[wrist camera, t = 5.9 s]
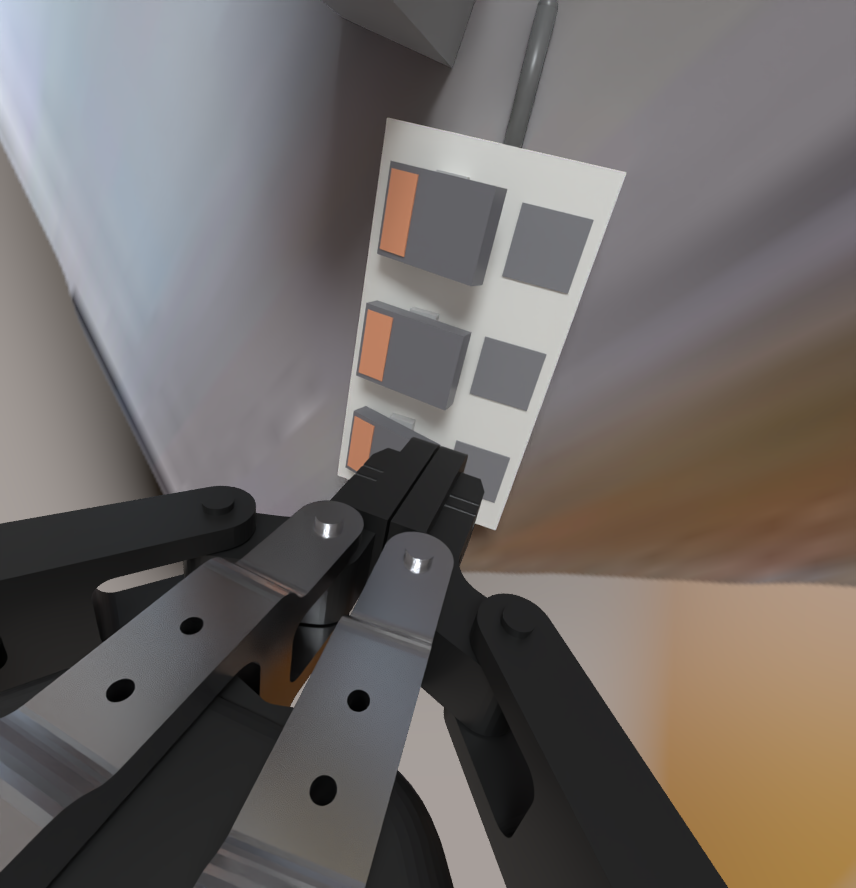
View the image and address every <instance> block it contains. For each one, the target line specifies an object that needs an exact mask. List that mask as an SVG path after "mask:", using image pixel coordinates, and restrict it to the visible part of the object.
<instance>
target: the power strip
mask: <svg viewBox="0 0 856 888" xmlns="http://www.w3.org/2000/svg"><path fill="white" fill-rule="evenodd" d="M557 10H558V3H557V0H540V1H539V3H538V6H537V10H536V14H535V18H534V22H533V26H532V30H531V34H530V38H529V42H528V46H527V50H526V54H525V58H524V62H523V66H522V70H521V75H520V79H519V83H518V87H517V91H516V95H515V99H514V103H513V107H512V111H511V115H510V119H509V123H508V127H507V131H506V135H505V140H504V144H501V143H496V142H492V141H488V140H483V139H479V138H475V137H470V136H466V135H462V134H457V133H453V132H449V131H444V130H440V129H436V128H431V127H427V126H423V125H418V124H414V123H410V122H405V121H401V120H397V119H392V118H388V117H387V122H386V129H385V137H384V144H383V151H382V158H381V165H380V173H379V180H378V187H377V194H376V201H375V209H374V216H373V223H372V230H371V237H370V245H369V252H368V259H367V266H366V273H365V281H364V288H363V295H362V302H361V309H360V317H359V324H358V331H357V338H356V345H355V352H354V360H353V367H352V374H351V381H350V388H349V396H348V403H347V410H346V417H345V424H344V432H343V439H342V446H341V453H340V460H339V468H338V476H341V477H344V478H346V479H350V478H351V477H352V476H353V475H354V474H356V473H354V472H352V471H351V470H349V469H347V468H346V467H345V466H346V460H347V453H348V446H349V439H350V433H351V426H352V419H353V412H354V410H357V409H359V408H362V407H364V406H367V407H369V408H371V409H373V410H375V411H377V412H379V413H381V414H382V415H384V416H386V417H388V418H390V419H392V420H394V421H396V422H398V423H400V424H402V425H404V426H406V427H407V428H409V429H411V430H413V431H415V432H417V433H419V434H421V435H423V436H425V437H427V438H429V439H430V440H432V441H434V442H436V443H438V444H440V445H441V446H444V447H447V448H450V449H453V450H456V451H459V452H462V453H465V454H468V458H467V463H466V466H465V470H464V473H465V474H468V475H470V476H473V477H476V478H479V479H481V481H482V485H483V488H484V492H485V493H484V496H483V499H482V502H481V505H480V509H479V512H478V515H477V518H476V521H475V523H476V524H478V525H481V526H484V527H487V528H490V529H493V530H496V528H497V525H498V523H499V520H500V517H501V514H502V512H503V509H504V506H505V504H506V501H507V498H508V495H509V493H510V490H511V487H512V484H513V482H514V479H515V476H516V473H517V471H518V468H519V465H520V463H521V460H522V457H523V454H524V452H525V449H526V446H527V443H528V441H529V438H530V435H531V432H532V430H533V427H534V424H535V422H536V419H537V416H538V413H539V411H540V408H541V405H542V402H543V400H544V397H545V394H546V391H547V389H548V386H549V383H550V381H551V378H552V375H553V372H554V370H555V367H556V364H557V361H558V359H559V356H560V353H561V350H562V348H563V345H564V342H565V340H566V337H567V334H568V331H569V329H570V326H571V323H572V320H573V318H574V315H575V312H576V309H577V307H578V304H579V301H580V299H581V296H582V293H583V290H584V288H585V285H586V282H587V279H588V277H589V274H590V271H591V268H592V266H593V263H594V260H595V258H596V255H597V252H598V249H599V247H600V244H601V241H602V238H603V236H604V233H605V230H606V227H607V225H608V222H609V219H610V217H611V214H612V211H613V208H614V206H615V203H616V200H617V197H618V195H619V192H620V189H621V186H622V184H623V181H624V178H625V176H626V173H627V172H622V171H618V170H614V169H609V168H605V167H601V166H596V165H592V164H588V163H583V162H579V161H575V160H570V159H566V158H562V157H557V156H553V155H548V154H544V153H540V152H535V151H531V150H527V149H522V148H521V147H522V144H523V140H524V136H525V132H526V128H527V125H528V121H529V117H530V113H531V109H532V106H533V102H534V98H535V94H536V90H537V87H538V83H539V79H540V75H541V71H542V68H543V64H544V60H545V56H546V52H547V49H548V45H549V41H550V37H551V33H552V30H553V26H554V22H555V18H556V14H557ZM390 161H394V162H399V163H403V164H407V165H411V166H415V167H419V168H423V169H427V170H432V171H436V172H440V173H444V174H448V175H452V176H456V177H460V178H465V179H469V180H473V181H477V182H481V183H485V184H489V185H493V186H497V187H501V188H505V189H507V193H506V197H505V201H504V204H503V208H502V212H501V216H500V220H499V224H498V227H497V231H496V235H495V239H494V243H493V247H492V251H491V254H490V258H489V262H488V266H487V270H486V274H485V277H484V281H483V285H480V286H468V285H466V284H463V283H460V282H457V281H454V280H451V279H448V278H445V277H443V276H440V275H437V274H434V273H431V272H428V271H425V270H422V269H420V268H417V267H414V266H411V265H408V264H405V263H402V262H399V261H397V260H394V259H391V258H388V257H385V256H382V255H379V254H377V250H378V243H379V236H380V229H381V222H382V216H383V209H384V202H385V195H386V189H387V182H388V175H389V168H390ZM376 300H378V301H381V302H384V303H387V304H390V305H393V306H395V307H398V308H401V309H404V310H407V311H410V312H413V313H416V314H419V315H422V316H425V317H428V318H431V319H434V320H437V321H440V322H443V323H446V324H448V325H451V326H454V327H457V328H460V329H463V330H466V331H469V332H472V333H471V337H470V341H469V345H468V348H467V352H466V356H465V360H464V364H463V367H462V371H461V375H460V379H459V383H458V386H457V390H456V394H455V398H454V402H453V405H451V406H450V407H449V408H448V409H446V410H442V409H439V408H437V407H434V406H432V405H429V404H427V403H424V402H422V401H419V400H417V399H414V398H412V397H409V396H407V395H404V394H402V393H399V392H397V391H394V390H391V389H389V388H386V387H384V386H381V385H379V384H376V383H374V382H371V381H369V380H366V379H364V378H361V377H359V376H356V371H357V364H358V357H359V350H360V343H361V337H362V330H363V323H364V316H365V309H366V303H368V302H372V301H376Z"/></svg>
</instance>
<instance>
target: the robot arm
mask: <svg viewBox="0 0 856 888" xmlns="http://www.w3.org/2000/svg"><path fill="white" fill-rule="evenodd" d="M467 458H468V454H465V453H462V452H459V451H456V450H453V449H450V448H447V447H444V446H440V445H437V444H434V443H431V442H428V441H425V440H422V439H419V438H416V437H412V438H411V439H410V440H409V442H408V443H407V444H406V445H405V446H404V448H403V449H402V450H401V451H397V450H394V449H391V448H386V449H384V450H381V451H379V452H376V453H374V454H372V456H371V457H370V458H369V459H368V460H367V461H366V462H365V463H364V465H363V466H361V467H360V469H359V470H358V471H357V472H356V474H354V475H353V476H352V477H351V478H350V479H349V480H348V482H347V483H346V484H345V485H344V486H343V487H342V488H341V489H340V490H339V491H338V492H337V493H336V495H335V496H334V497H333V498H332V499H331V500H330V501H317V502H313V503H310V504H307V505H305V506H304V507H302V508H301V509H300V510H298V511H297V512H296V513H295V514H294V515H292V516H291V517H284V516H275V515H268V514H260V513H256V503H255V500H254V498H253V497H252V496H251V495H250V494H249V493H247V492H246V491H244V490H242V489H239V488H235V487H230V486H213V487H207V488H201V489H195V490H190V491H184V492H178V493H172V494H167V495H161V496H155V497H150V498H144V499H138V500H133V501H127V502H121V503H116V504H110V505H104V506H99V507H93V508H87V509H81V510H76V511H70V512H65V513H59V514H53V515H47V516H42V517H36V518H30V519H25V520H19V521H13V522H7V523H2V524H0V888H454V887H453V883H452V880H451V876H450V872H449V869H448V865H447V861H446V858H445V854H444V851H443V848H442V844H441V841H440V838H439V836H438V833H437V831H436V829H435V826H434V824H433V821H432V818H431V817H430V815H429V813H428V811H427V809H426V807H425V805H424V803H423V801H422V800H421V798H420V797H419V795H418V794H417V793H416V791H415V790H414V788H413V787H412V785H411V784H410V783H409V782H408V781H407V780H406V779H405V777H404V776H403V775H402V774H401V773H400V772H399V771H398V766H399V763H400V759H401V755H402V752H403V748H404V744H405V741H406V737H407V734H408V730H409V726H410V723H411V719H412V715H413V712H414V708H415V705H416V701H417V697H418V694H419V690H420V687H422V688H423V689H424V690H425V691H426V692H427V693H428V694H430V695H431V696H432V697H433V698H434V699H435V700H436V701H438V702H439V703H440V704H441V705H442V706H443V707H444V719H445V723H446V726H447V729H448V731H449V734H450V737H451V739H452V742H453V745H454V747H455V750H456V752H457V756H458V758H459V761H460V763H461V766H462V769H463V772H464V774H465V777H466V780H467V782H468V785H469V788H470V790H471V793H472V796H473V798H474V801H475V804H476V807H477V809H478V812H479V815H480V817H481V820H482V823H483V825H484V828H485V831H486V833H487V836H488V839H489V841H490V844H491V847H492V849H493V852H494V855H495V858H496V860H497V863H498V865H499V868H500V871H501V874H502V876H503V879H504V882H505V884H506V887H507V888H728V887H727V885H726V884H725V882H724V881H723V879H722V878H721V876H720V875H719V873H718V872H717V870H716V869H715V867H714V866H713V864H712V863H711V861H710V860H709V858H708V857H707V855H706V854H705V852H704V851H703V849H702V848H701V846H700V845H699V843H698V842H697V840H696V839H695V837H694V836H693V834H692V832H691V831H690V829H689V828H688V826H687V825H686V823H685V822H684V820H683V819H682V818H681V816H680V815H679V813H678V811H677V810H676V809H675V807H674V805H673V804H672V802H671V801H670V799H669V798H668V796H667V795H666V793H665V792H664V791H663V789H662V787H661V786H660V784H659V783H658V781H657V780H656V779H655V777H654V775H653V774H652V772H651V771H650V769H649V768H648V766H647V765H646V763H645V762H644V761H643V759H642V757H641V756H640V754H639V753H638V751H637V750H636V748H635V747H634V745H633V744H632V742H631V741H630V739H629V738H628V736H627V735H626V733H625V732H624V730H623V729H622V727H621V726H620V724H619V723H618V722H617V720H616V718H615V717H614V715H613V714H612V712H611V711H610V709H609V708H608V706H607V705H606V704H605V702H604V700H603V699H602V697H601V696H600V694H599V693H598V691H597V690H596V688H595V687H594V685H593V684H592V682H591V681H590V679H589V678H588V676H587V675H586V673H585V672H584V670H583V669H582V667H581V666H580V664H579V663H578V661H577V660H576V658H575V657H574V655H573V654H572V652H571V651H570V649H569V648H568V646H567V645H566V643H565V642H564V640H563V639H562V637H561V636H560V634H559V633H558V631H557V630H556V628H555V627H554V625H553V624H552V622H551V621H550V619H549V618H548V616H547V615H546V614H545V613H544V612H543V611H542V610H541V609H540V608H539V607H538V606H537V605H535V604H534V603H532V602H531V601H529V600H527V599H525V598H523V597H520V596H517V595H513V594H496V595H492V596H490V597H488V598H487V597H485V596H484V595H482V594H481V593H479V592H478V591H477V590H475V589H474V588H473V587H472V586H471V585H470V584H469V583H468V582H467V581H466V580H465V578H464V576H463V574H462V573H461V570H460V567H459V566H460V564H461V561H462V559H463V556H464V553H465V551H466V548H467V545H468V543H469V540H470V538H471V534H472V531H473V528H474V525H475V521H476V518H477V515H478V512H479V509H480V505H481V502H482V499H483V496H484V493H485V492H484V488H483V485H482V481H481V479H479V478H476V477H473V476H470V475H468V474H465V473H464V470H465V466H466V463H467ZM180 561H183V566H184V567H183V568H184V574H183V575H179V576H175V577H171V578H168V579H164V580H160V581H156V582H153V583H149V584H145V585H142V586H138V587H134V588H130V589H127V590H122V591H119V592H114V593H106V592H101V591H99V590H98V589H97V587H98V586H99V585H100V584H102V583H104V582H105V581H107V580H110V579H113V578H116V577H120V576H124V575H128V574H132V573H136V572H140V571H144V570H148V569H152V568H156V567H160V566H164V565H168V564H172V563H176V562H180ZM358 598H359V599H358ZM357 600H358V601H357ZM356 601H357V603H356ZM355 603H356V605H355ZM354 605H355V607H354V609H353V611H352V613H351V615H349V612H350V611H351V610H352V608H353V606H354ZM310 675H311V676H310ZM309 676H310V678H309ZM308 678H309V680H308V682H307V684H306V686H305V687H304V689H303V691H302V693H301V695H300V697H299V699H298V701H297V703H296V705H295V707H294V708H293V707H290V706H291V703H292V702H293V700H294V698H295V696H296V695H297V693H298V692H299V690H300V689H301V687H302V686H303V684H304V683H305V682H306V681H307V679H308Z"/></svg>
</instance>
